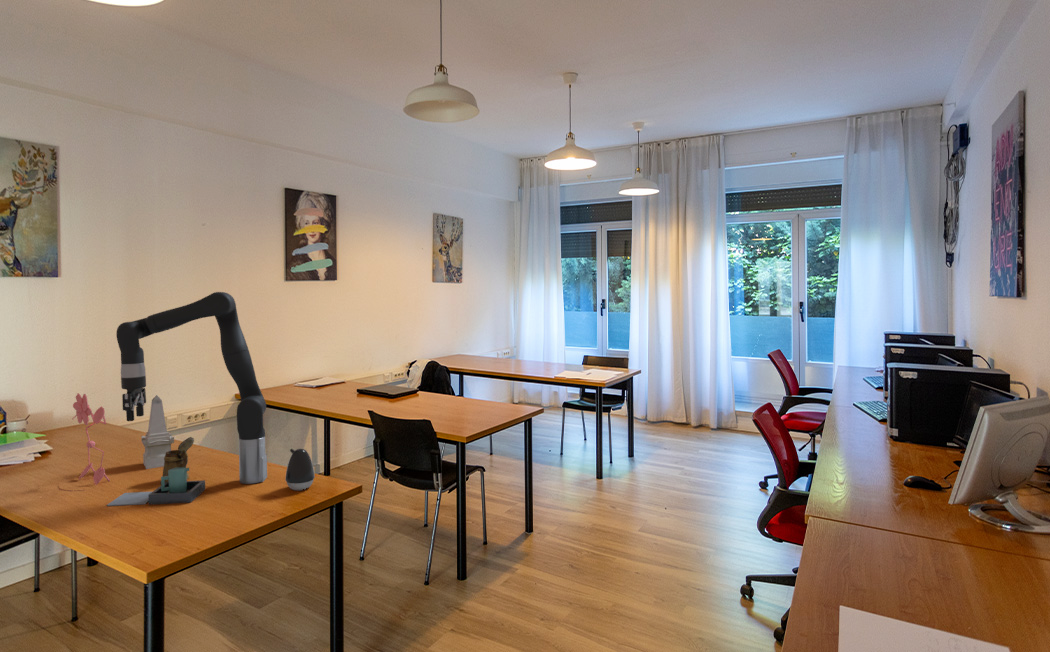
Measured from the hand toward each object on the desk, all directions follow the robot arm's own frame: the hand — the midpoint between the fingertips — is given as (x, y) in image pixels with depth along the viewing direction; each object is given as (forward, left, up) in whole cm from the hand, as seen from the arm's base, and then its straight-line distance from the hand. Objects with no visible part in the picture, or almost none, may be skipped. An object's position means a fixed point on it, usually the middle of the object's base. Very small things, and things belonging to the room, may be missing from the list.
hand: (135, 418), depth 208 cm
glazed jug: (-19, +12, -27) cm, 34 cm away
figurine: (+22, -9, -27) cm, 36 cm away
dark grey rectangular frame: (-19, +12, -26) cm, 34 cm away
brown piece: (-12, -7, -27) cm, 30 cm away
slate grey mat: (-5, +12, -26) cm, 29 cm away
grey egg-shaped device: (-60, +9, -27) cm, 66 cm away
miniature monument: (+6, -31, -27) cm, 42 cm away
